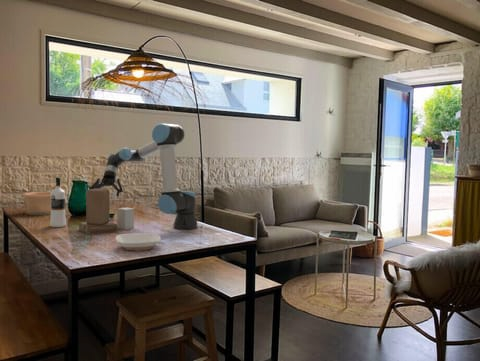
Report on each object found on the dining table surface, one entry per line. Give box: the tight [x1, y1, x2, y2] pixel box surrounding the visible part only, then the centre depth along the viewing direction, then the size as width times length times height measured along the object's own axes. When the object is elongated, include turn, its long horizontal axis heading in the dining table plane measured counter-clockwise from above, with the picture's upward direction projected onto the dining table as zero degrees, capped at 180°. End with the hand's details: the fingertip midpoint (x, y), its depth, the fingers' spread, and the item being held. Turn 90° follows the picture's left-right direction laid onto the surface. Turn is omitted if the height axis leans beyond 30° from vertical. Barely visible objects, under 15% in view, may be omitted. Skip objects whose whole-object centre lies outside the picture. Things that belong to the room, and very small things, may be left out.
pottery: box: [22, 191, 51, 216], centre depth 298 cm, size 22×22×14 cm
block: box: [85, 188, 111, 225], centre depth 243 cm, size 10×10×20 cm
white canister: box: [116, 207, 135, 230], centre depth 255 cm, size 7×7×12 cm
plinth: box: [78, 221, 118, 236], centre depth 245 cm, size 16×16×5 cm
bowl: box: [115, 232, 162, 251], centre depth 207 cm, size 22×22×5 cm
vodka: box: [49, 177, 67, 228], centre depth 253 cm, size 9×9×30 cm
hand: (103, 199), depth 255 cm, fingers open, 13 cm apart
